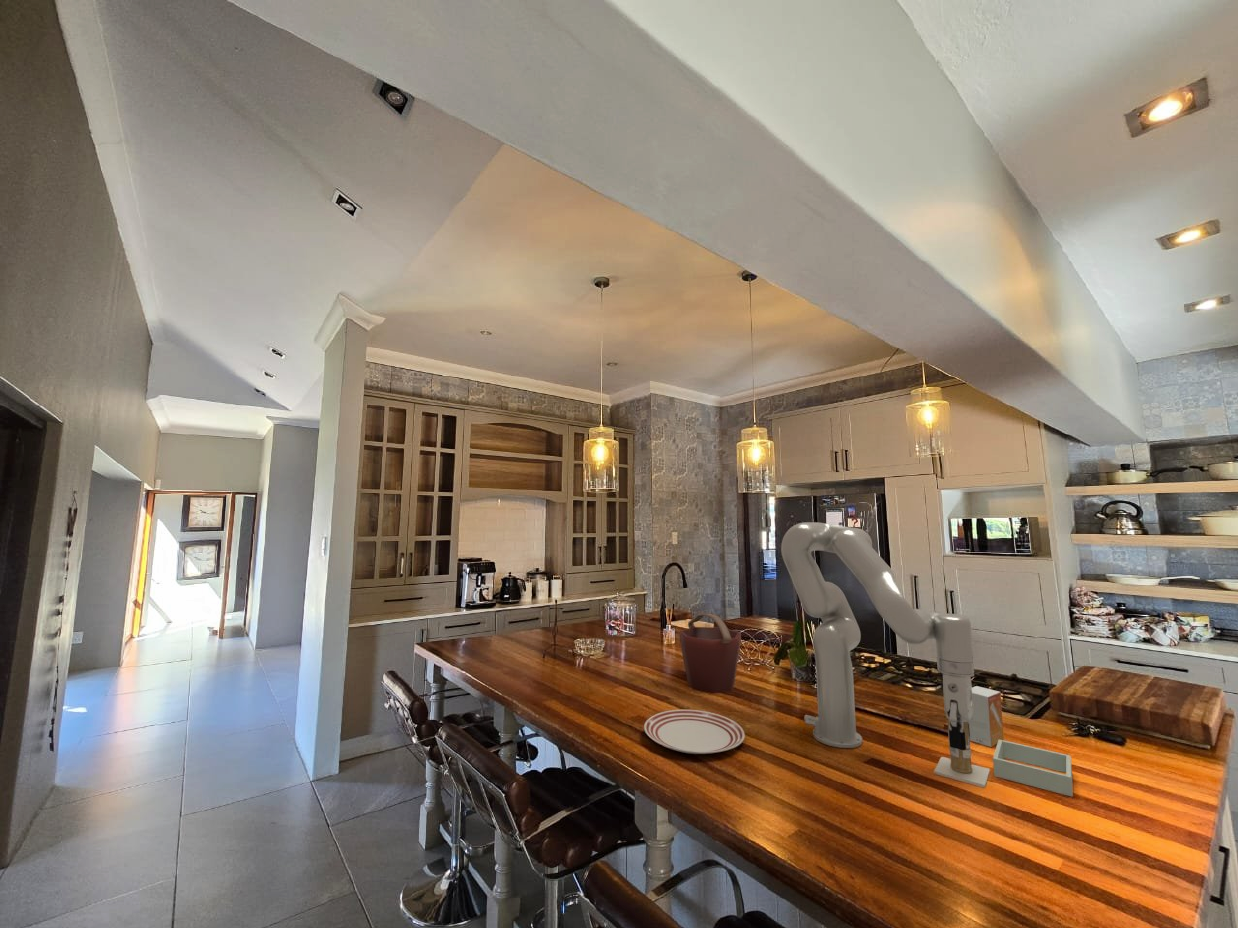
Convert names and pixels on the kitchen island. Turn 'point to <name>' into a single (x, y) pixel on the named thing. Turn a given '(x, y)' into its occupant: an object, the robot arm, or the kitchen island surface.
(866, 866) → the kitchen island surface
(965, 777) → the tile
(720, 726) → the dinner plate
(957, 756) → the sprinkles bottle
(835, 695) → the robot arm
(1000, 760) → the tray
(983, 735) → the small box
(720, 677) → the bucket
